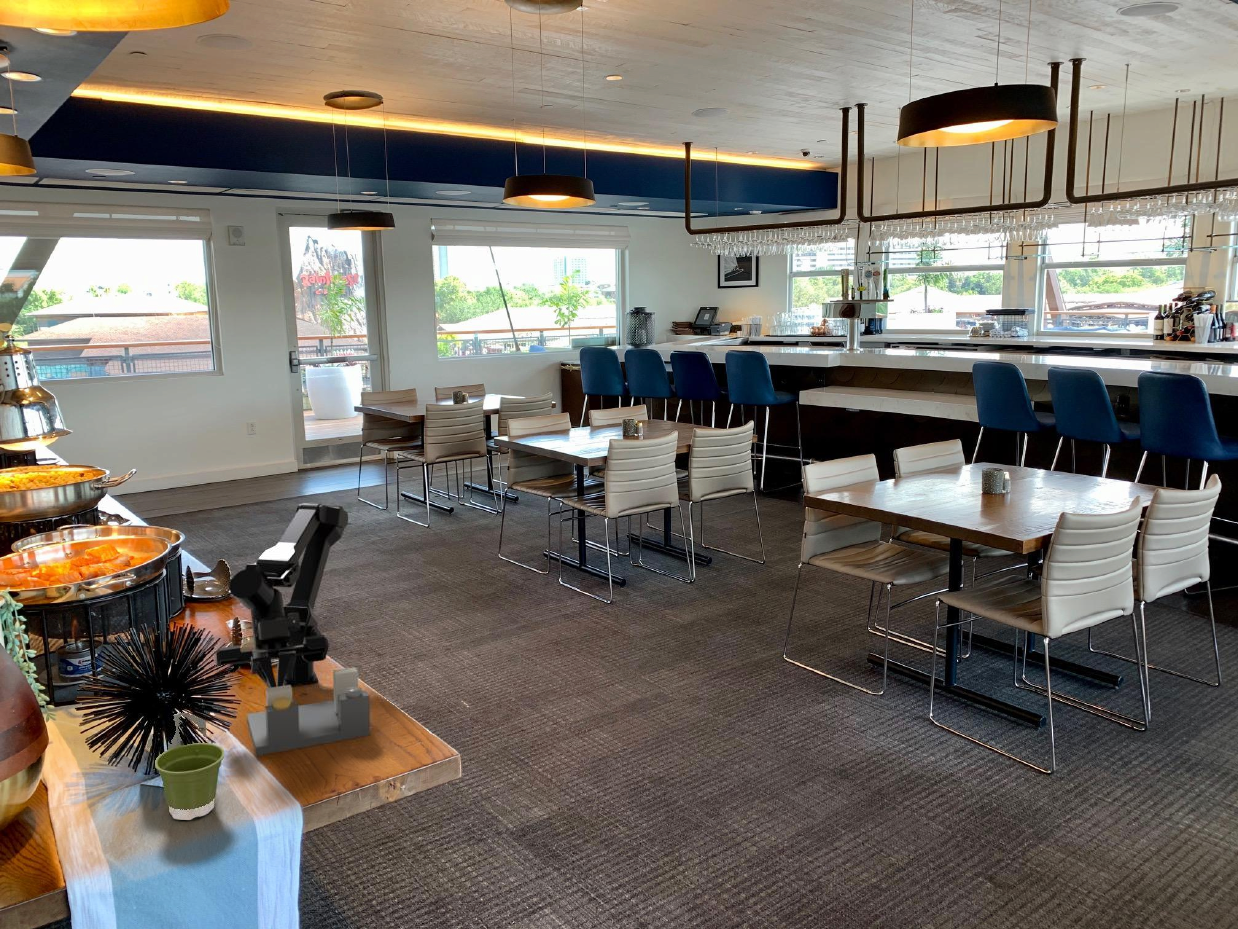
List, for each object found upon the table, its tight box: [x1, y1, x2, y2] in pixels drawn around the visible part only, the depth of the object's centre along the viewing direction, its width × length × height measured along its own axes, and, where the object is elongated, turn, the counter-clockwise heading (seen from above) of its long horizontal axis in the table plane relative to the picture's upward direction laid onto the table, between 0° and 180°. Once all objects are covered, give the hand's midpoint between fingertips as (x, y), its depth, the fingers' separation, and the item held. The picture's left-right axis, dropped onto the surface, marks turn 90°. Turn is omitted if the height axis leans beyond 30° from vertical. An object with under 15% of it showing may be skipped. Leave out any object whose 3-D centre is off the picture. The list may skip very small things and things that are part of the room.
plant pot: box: [155, 742, 225, 810], centre depth 137 cm, size 9×9×9 cm
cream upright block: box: [332, 666, 359, 714], centre depth 168 cm, size 2×4×8 cm, turn 118°
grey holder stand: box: [246, 686, 371, 757], centre depth 164 cm, size 14×19×8 cm
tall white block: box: [265, 685, 293, 706], centre depth 159 cm, size 2×4×8 cm, turn 117°
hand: (278, 699), depth 160 cm, fingers closed, pressing on tall white block
